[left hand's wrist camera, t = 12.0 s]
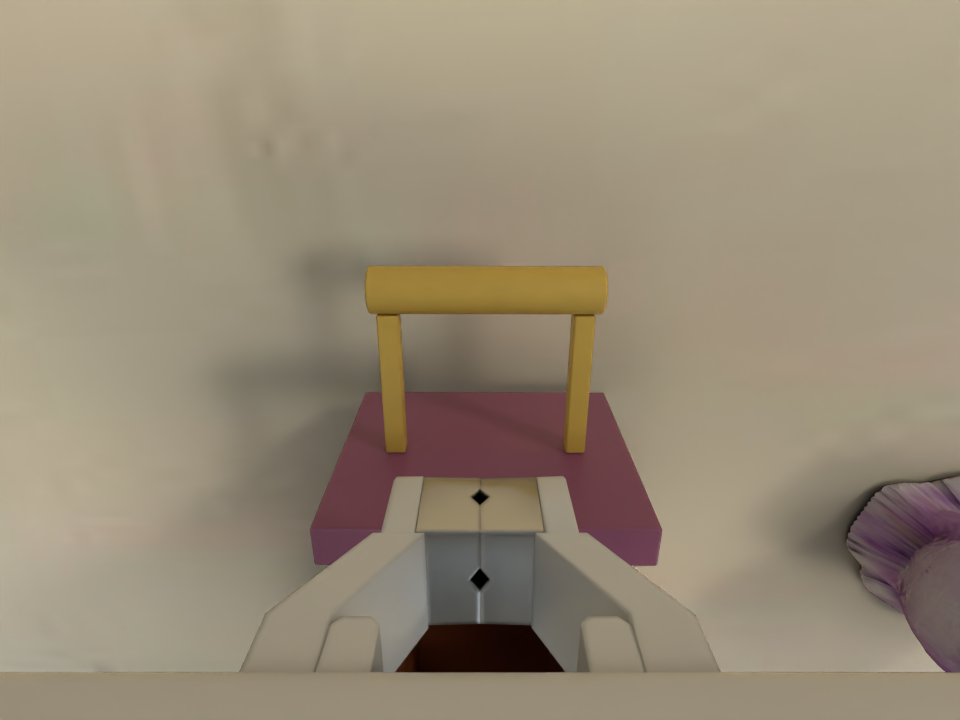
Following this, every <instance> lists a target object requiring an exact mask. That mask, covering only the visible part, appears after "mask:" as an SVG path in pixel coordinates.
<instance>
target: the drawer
mask: <svg viewBox="0 0 960 720" xmlns="http://www.w3.org/2000/svg"><path fill="white" fill-rule="evenodd" d="M607 297H608V279H607V273H606V270H605V268H604V267H602V266H369V267H368V268H367V271H366V275H365V301H366V306H367V309H368V312H369V313H371V314H378V315H377V317H376V319H377V333H378V347H379V361H380V375H381V388H382V392H366V393H365V396H364V398H363V401H362V403H361V406H360V408H359V411H358V413H357V415H356V418H355V420H354V423H353V425H352V428H351V430H350V432H349V435H348V437H347V440H346V442H345V445H344V447H343V449H342V452H341V454H340V457H339V459H338V462H337V464H336V467H335V469H334V471H333V474H332V476H331V479H330V481H329V484H328V486H327V488H326V491H325V493H324V496H323V498H322V501H321V503H320V505H319V508H318V510H317V513H316V515H315V518H314V520H313V523H312V525H311V527H310V533H311V540H312V547H313V555H314V562H315V564H317V565H331V564H332V563H333V562H335V561H336V560H337V559H339V558H340V557H341V556H343V555H344V554H345V553H347V552H348V551H349V550H350V549H352V548H353V547H354V546H356V545H357V544H358V543H360V542H361V541H362V540H364V539H365V538H366V537H368V536H369V535H370V534H372V533H381V530H382V526H383V522H384V518H385V514H386V510H387V506H388V502H389V498H390V494H391V490H392V486H393V482H394V480H395V478H396V477H406V476H423V477H424V478H425V477H469V478H480V479H486V478H526V477H550V476H563V477H564V478H565V479H566V482H567V486H568V490H569V494H570V498H571V502H572V506H573V510H574V514H575V518H576V522H577V526H578V530H579V533H588V534H590V535H591V536H592V537H594V538H595V539H596V540H598V541H599V542H600V543H602V544H603V545H604V546H606V547H607V548H608V549H609V550H611V551H612V552H613V553H615V554H616V555H617V556H619V557H620V558H621V559H623V560H624V561H625V562H627V563H628V564H629V565H631V566H655V565H657V561H658V555H659V548H660V541H661V535H662V528H661V526H660V523H659V521H658V519H657V516H656V514H655V512H654V509H653V507H652V505H651V502H650V500H649V498H648V495H647V493H646V491H645V488H644V486H643V484H642V481H641V479H640V477H639V474H638V472H637V470H636V467H635V465H634V463H633V460H632V458H631V456H630V453H629V451H628V449H627V446H626V444H625V442H624V439H623V437H622V435H621V432H620V430H619V428H618V425H617V423H616V421H615V418H614V416H613V414H612V411H611V409H610V407H609V404H608V402H607V400H606V397H605V395H604V393H589V391H590V379H591V367H592V355H593V343H594V331H595V319H596V318H595V316H594V314H603V313H604V311H605V308H606V304H607ZM400 314H572V317H571V332H570V347H569V362H568V377H567V393H527V392H405V390H404V372H403V354H402V336H401V318H400ZM395 672H565V671H564V670H563V668H562V667H561V666H560V664H559V663H558V662H557V660H556V659H555V658H554V656H553V655H552V654H551V652H550V651H549V650H548V649H547V647H546V646H545V645H544V643H543V642H542V641H541V639H540V638H539V637H538V635H537V634H536V633H535V632H534V630H533V629H532V625H504V624H455V625H428V630H427V631H426V632H425V633H424V635H423V636H422V637H421V639H420V640H419V641H418V643H417V644H416V645H415V646H414V648H413V649H412V650H411V652H410V653H409V654H408V656H407V657H406V658H405V659H404V661H403V662H402V663H401V665H400V666H399V667H398V669H397V670H396V671H395Z"/></svg>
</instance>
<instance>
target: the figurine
mask: <svg viewBox="0 0 960 720" xmlns="http://www.w3.org/2000/svg"><path fill="white" fill-rule="evenodd" d="M846 543H847V546H848V549H849V551H850V552H851V554H852V555H853V556H854V558H855V559H856V560H857V561H858V562H859V563H860V564H861V570H860V576H861V578H862V581H863V583H864V585H865V587H866V589H868V590H869V591H870V592H871V593H873V594H875V595H876V596H877V597H879V598H881V599H882V600H883V601H885V602H886V603H888V604H889V605H891V606H892V607H894V608H896V609H897V610H899V611H900V612H902V613H903V614H904V615H905V617H906V619H907V621H908V624H909V626H910V628H911V630H912V631H913V633H914V634H915V636H916V638H917V639H918V640H919V642H920V643H921V644H922V646H923V648H924V649H925V651H926V653H927V654H928V655H929V656H930V657H931V658H932V659H933V660H934V661H935V663H936V664H937V665H938V666H939V667H941V668H942V669H943V670H944V671H945V672H960V476H958V477H952V478H946V479H943V480H938V481H934V482H932V483H929V482H926V483H899V484H892V485H887V486H885V487H883V488H882V490H881V491H879V492H877V493H875V496H874V497H872V498H871V501H870V502H868V504H867V506H866V507H864V511H862V512H861V514H860V516H858V517H857V520H856V521H854V524H853V525H852V526H851V528H850V533H848V540H846Z"/></svg>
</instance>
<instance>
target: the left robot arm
mask: <svg viewBox="0 0 960 720" xmlns="http://www.w3.org/2000/svg"><path fill="white" fill-rule="evenodd" d="M455 624H504V625H532V629H533V630H534V632H535V633H536V634H537V635H538V637H539V638H540V639H541V641H542V642H543V643H544V645H545V646H546V647H547V649H548V650H549V651H550V652H551V654H552V655H553V656H554V658H555V659H556V660H557V662H558V663H559V664H560V666H561V667H562V668H563V670H564V671H565V672H395V671H396V670H397V669H398V667H399V666H400V665H401V663H402V662H403V661H404V659H405V658H406V657H407V656H408V654H409V653H410V652H411V650H412V649H413V648H414V646H415V645H416V644H417V643H418V641H419V640H420V639H421V637H422V636H423V635H424V633H425V632H426V631H427V630H428V625H455ZM0 720H960V672H720V669H719V667H718V665H717V662H716V660H715V658H714V656H713V653H712V651H711V649H710V647H709V644H708V642H707V640H706V638H705V635H704V633H703V631H702V629H701V626H700V624H699V622H698V619H697V617H696V615H695V614H694V613H692V612H691V611H690V610H689V609H687V608H686V607H685V606H683V605H682V604H681V603H679V602H678V601H677V600H675V599H674V598H673V597H671V596H670V595H669V594H667V593H666V592H665V591H663V590H662V589H661V588H660V587H658V586H657V585H656V584H654V583H653V582H652V581H650V580H649V579H648V578H646V577H645V576H644V575H642V574H641V573H640V572H638V571H637V570H636V569H634V568H633V567H632V566H631V565H629V564H628V563H627V562H625V561H624V560H623V559H621V558H620V557H619V556H617V555H616V554H615V553H613V552H612V551H611V550H609V549H608V548H607V547H606V546H604V545H603V544H602V543H600V542H599V541H598V540H596V539H595V538H594V537H592V536H591V535H590V534H588V533H579V530H578V526H577V522H576V518H575V514H574V510H573V506H572V502H571V498H570V494H569V490H568V486H567V482H566V479H565V478H564V477H563V476H550V477H526V478H486V479H480V478H469V477H425V478H424V477H423V476H406V477H396V478H395V480H394V482H393V486H392V490H391V494H390V498H389V502H388V506H387V510H386V514H385V518H384V522H383V526H382V530H381V533H372V534H370V535H369V536H368V537H366V538H365V539H364V540H362V541H361V542H360V543H358V544H357V545H356V546H354V547H353V548H352V549H350V550H349V551H348V552H347V553H345V554H344V555H343V556H341V557H340V558H339V559H337V560H336V561H335V562H333V563H332V564H331V565H329V566H328V567H327V568H325V569H324V570H323V571H321V572H320V573H319V574H317V575H316V576H315V577H313V578H312V579H311V580H309V581H308V582H307V583H305V584H304V585H303V586H301V587H300V588H299V589H298V590H296V591H295V592H294V593H292V594H291V595H290V596H288V597H287V598H286V599H284V600H283V601H282V602H280V603H279V604H278V605H276V606H275V607H274V608H272V609H271V610H270V611H268V612H267V613H266V614H265V616H264V618H263V620H262V622H261V625H260V627H259V629H258V631H257V634H256V636H255V638H254V640H253V642H252V645H251V647H250V649H249V651H248V654H247V656H246V658H245V660H244V663H243V665H242V667H241V669H240V671H239V672H0Z"/></svg>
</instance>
